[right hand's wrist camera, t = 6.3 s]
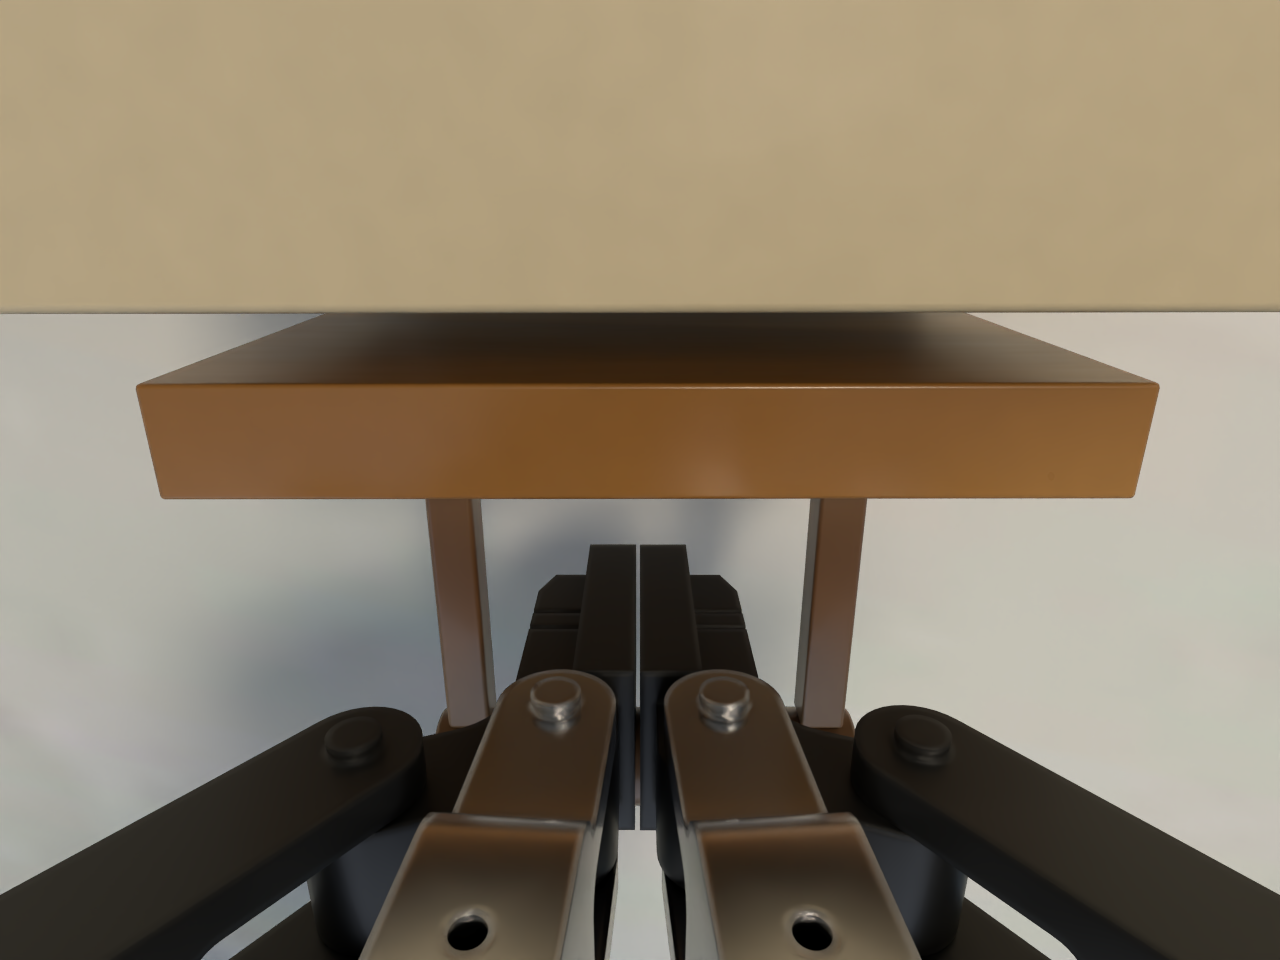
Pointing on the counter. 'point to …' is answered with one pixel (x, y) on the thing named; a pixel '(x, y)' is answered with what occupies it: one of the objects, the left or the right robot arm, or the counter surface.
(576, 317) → the drawer
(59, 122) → the cabinet
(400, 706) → the counter surface
